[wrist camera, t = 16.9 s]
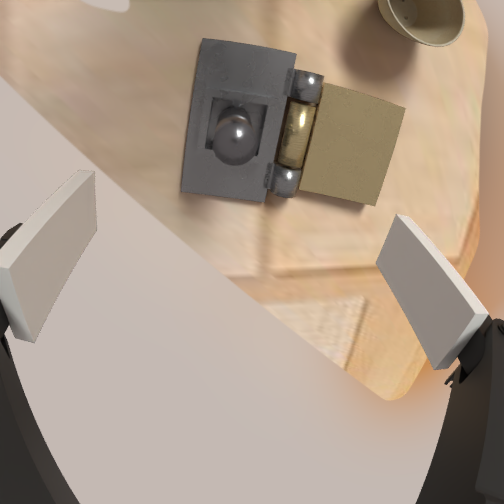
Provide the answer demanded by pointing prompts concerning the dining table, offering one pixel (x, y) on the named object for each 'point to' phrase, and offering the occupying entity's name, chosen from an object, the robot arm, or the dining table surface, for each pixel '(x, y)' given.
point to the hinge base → (259, 110)
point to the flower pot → (425, 19)
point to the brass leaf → (342, 143)
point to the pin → (234, 137)
